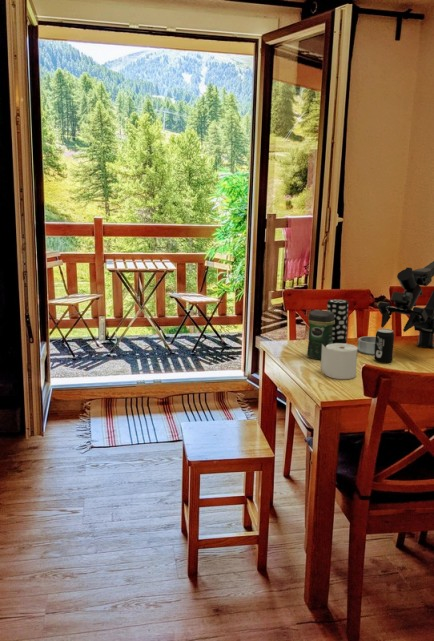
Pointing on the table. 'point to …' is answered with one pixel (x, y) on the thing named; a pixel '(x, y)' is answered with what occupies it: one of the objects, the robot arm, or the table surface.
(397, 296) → the robot arm
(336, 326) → the white-spotted black cylinder
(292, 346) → the table surface
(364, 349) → the can holder
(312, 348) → the coffee jar
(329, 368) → the toilet tissue
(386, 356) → the beverage can
